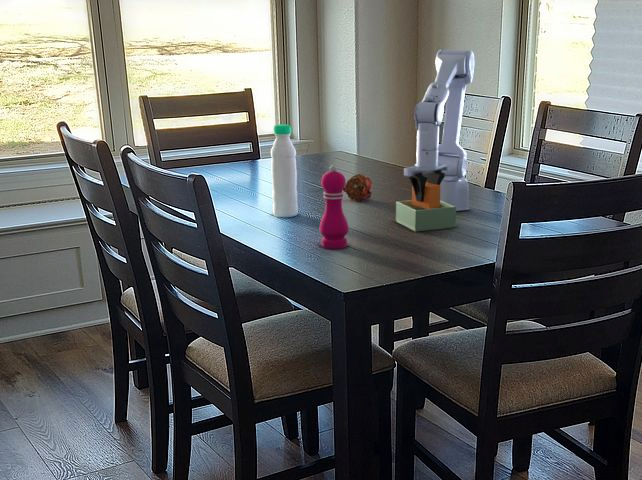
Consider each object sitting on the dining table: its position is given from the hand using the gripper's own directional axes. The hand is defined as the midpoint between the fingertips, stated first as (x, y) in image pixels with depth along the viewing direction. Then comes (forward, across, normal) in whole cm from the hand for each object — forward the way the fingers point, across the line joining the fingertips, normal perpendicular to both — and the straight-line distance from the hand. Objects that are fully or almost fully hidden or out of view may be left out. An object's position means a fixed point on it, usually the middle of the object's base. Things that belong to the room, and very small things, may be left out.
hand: (426, 200), depth 231 cm
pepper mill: (+7, +33, +3) cm, 34 cm away
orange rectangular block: (+2, 0, 0) cm, 2 cm away
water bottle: (+7, +24, -32) cm, 41 cm away
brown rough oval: (+7, -4, -36) cm, 37 cm away
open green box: (+7, 0, 0) cm, 7 cm away
